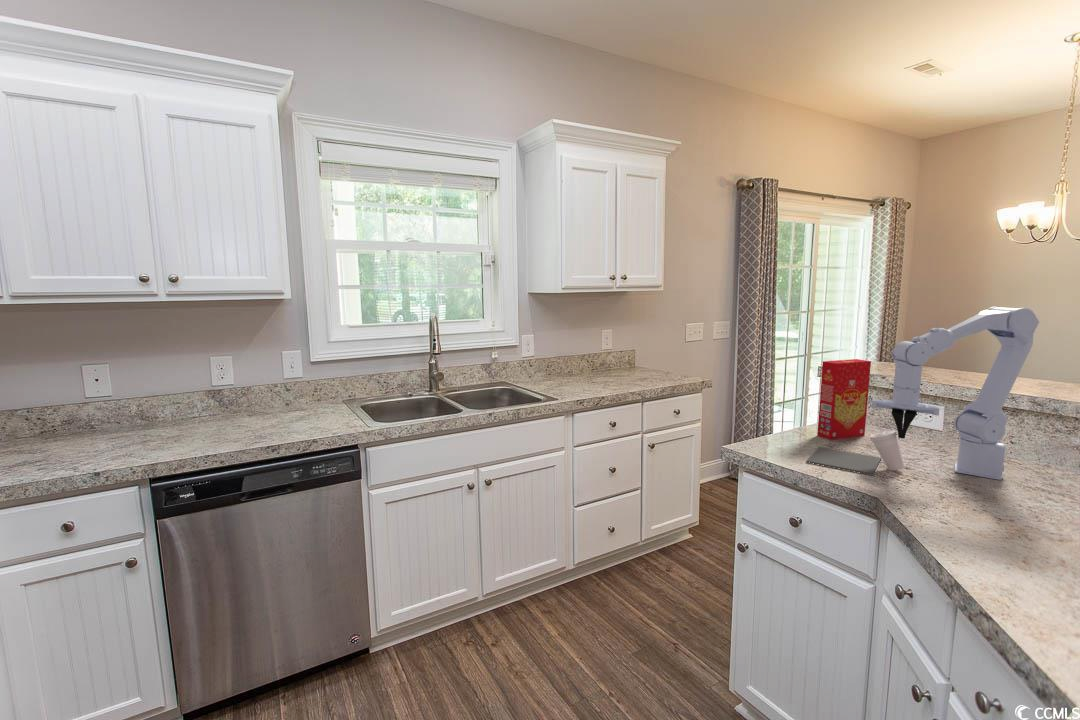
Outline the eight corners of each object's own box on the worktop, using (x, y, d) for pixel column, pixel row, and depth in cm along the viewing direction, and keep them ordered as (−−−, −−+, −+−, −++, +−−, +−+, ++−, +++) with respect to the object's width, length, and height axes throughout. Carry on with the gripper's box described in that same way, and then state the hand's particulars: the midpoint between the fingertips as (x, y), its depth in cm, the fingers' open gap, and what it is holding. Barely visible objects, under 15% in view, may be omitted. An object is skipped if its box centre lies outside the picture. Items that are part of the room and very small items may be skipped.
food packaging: (830, 439, 168) (836, 363, 164) (817, 435, 173) (822, 361, 169) (864, 435, 173) (870, 361, 169) (850, 431, 178) (856, 359, 174)
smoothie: (909, 462, 141) (888, 413, 143) (911, 468, 135) (890, 417, 137) (882, 467, 144) (863, 419, 146) (883, 473, 139) (863, 423, 140)
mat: (880, 459, 149) (881, 457, 149) (872, 475, 137) (872, 473, 137) (819, 448, 159) (819, 446, 159) (806, 462, 147) (806, 460, 147)
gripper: (872, 386, 138) (867, 435, 140) (940, 393, 129) (934, 446, 131) (875, 382, 143) (871, 430, 145) (941, 388, 134) (936, 439, 136)
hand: (901, 437), depth 138 cm, fingers closed
